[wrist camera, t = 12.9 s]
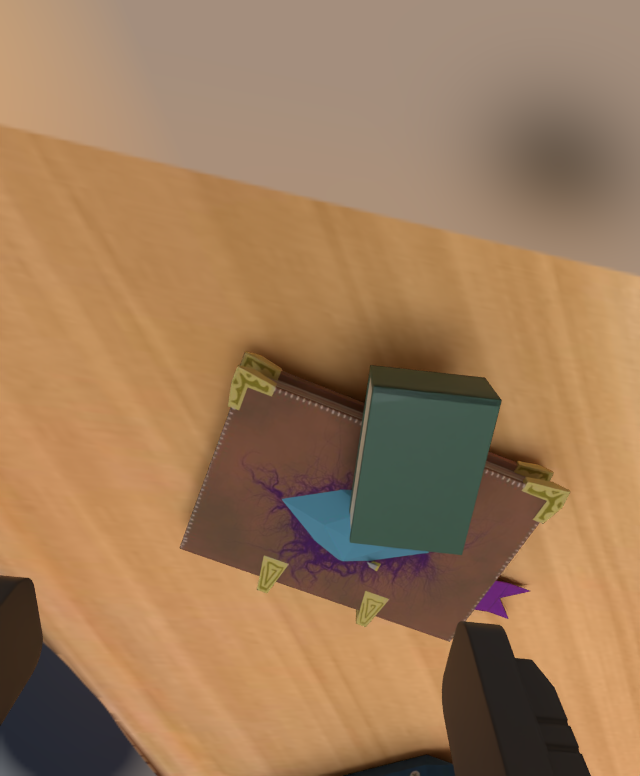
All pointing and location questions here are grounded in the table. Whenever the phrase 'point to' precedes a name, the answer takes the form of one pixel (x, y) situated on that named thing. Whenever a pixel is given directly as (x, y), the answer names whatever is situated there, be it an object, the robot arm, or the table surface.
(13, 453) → the table surface
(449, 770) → the radio
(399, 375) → the notebook
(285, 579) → the book
